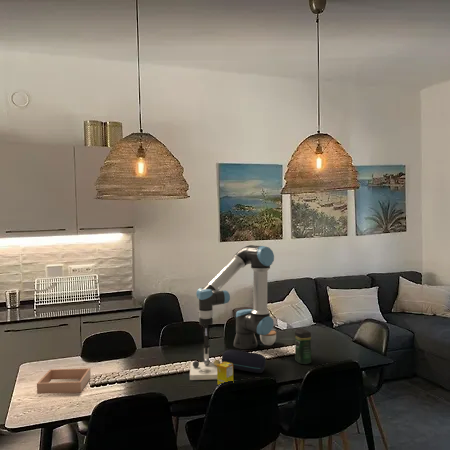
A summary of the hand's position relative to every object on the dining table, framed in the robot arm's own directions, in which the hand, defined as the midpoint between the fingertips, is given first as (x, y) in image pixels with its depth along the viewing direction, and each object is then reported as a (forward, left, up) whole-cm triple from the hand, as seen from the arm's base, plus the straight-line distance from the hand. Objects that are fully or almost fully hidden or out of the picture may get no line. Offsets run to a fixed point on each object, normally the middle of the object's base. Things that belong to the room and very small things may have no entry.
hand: (206, 358), depth 268 cm
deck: (0, +12, -4) cm, 13 cm away
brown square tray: (+72, +23, -4) cm, 76 cm away
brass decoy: (-6, +8, 0) cm, 10 cm away
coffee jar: (-55, -2, -4) cm, 55 cm away
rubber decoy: (+6, +9, 0) cm, 11 cm away
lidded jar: (-40, -39, -4) cm, 56 cm away
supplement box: (-9, +30, -4) cm, 32 cm away
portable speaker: (-21, +8, -4) cm, 23 cm away
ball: (0, +6, 0) cm, 6 cm away
